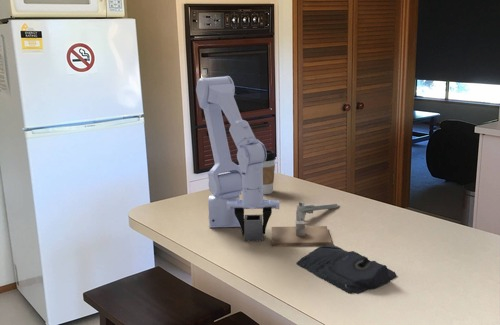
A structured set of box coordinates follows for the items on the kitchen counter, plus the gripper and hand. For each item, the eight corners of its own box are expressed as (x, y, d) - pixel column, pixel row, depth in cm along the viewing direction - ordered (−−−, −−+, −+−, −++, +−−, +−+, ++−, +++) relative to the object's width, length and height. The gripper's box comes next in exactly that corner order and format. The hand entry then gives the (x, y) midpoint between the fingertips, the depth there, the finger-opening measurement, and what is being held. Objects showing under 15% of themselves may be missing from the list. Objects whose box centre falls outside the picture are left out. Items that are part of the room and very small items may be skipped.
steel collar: (244, 241, 145) (244, 221, 144) (245, 234, 150) (244, 214, 149) (262, 241, 145) (262, 220, 144) (262, 234, 150) (262, 214, 149)
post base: (271, 248, 142) (271, 230, 141) (271, 231, 153) (271, 215, 152) (331, 247, 141) (331, 230, 140) (326, 230, 153) (326, 214, 152)
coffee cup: (251, 195, 186) (250, 153, 182) (255, 188, 194) (254, 148, 190) (274, 195, 184) (274, 154, 181) (277, 188, 193) (277, 148, 189)
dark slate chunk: (336, 249, 140) (336, 233, 138) (402, 280, 122) (403, 261, 121) (291, 265, 131) (291, 247, 130) (355, 300, 114) (355, 279, 112)
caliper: (298, 223, 158) (298, 203, 157) (296, 222, 159) (296, 203, 158) (339, 207, 172) (339, 188, 171) (336, 206, 173) (337, 188, 171)
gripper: (225, 191, 140) (227, 238, 144) (279, 190, 140) (280, 238, 143) (226, 184, 147) (228, 229, 151) (278, 183, 147) (279, 228, 150)
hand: (253, 233), depth 147 cm, fingers closed on steel collar, 5 cm apart
